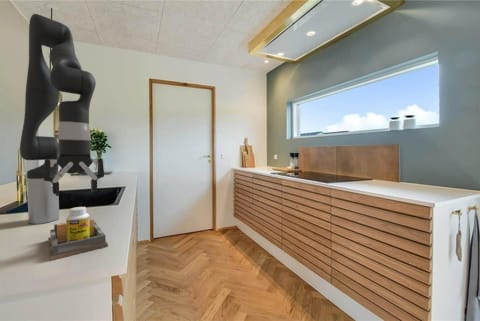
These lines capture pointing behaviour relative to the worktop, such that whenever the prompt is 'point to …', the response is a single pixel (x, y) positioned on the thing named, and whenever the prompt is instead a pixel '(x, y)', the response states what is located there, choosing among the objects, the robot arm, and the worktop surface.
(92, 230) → the board
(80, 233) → the supplement bottle
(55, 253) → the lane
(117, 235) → the worktop surface
